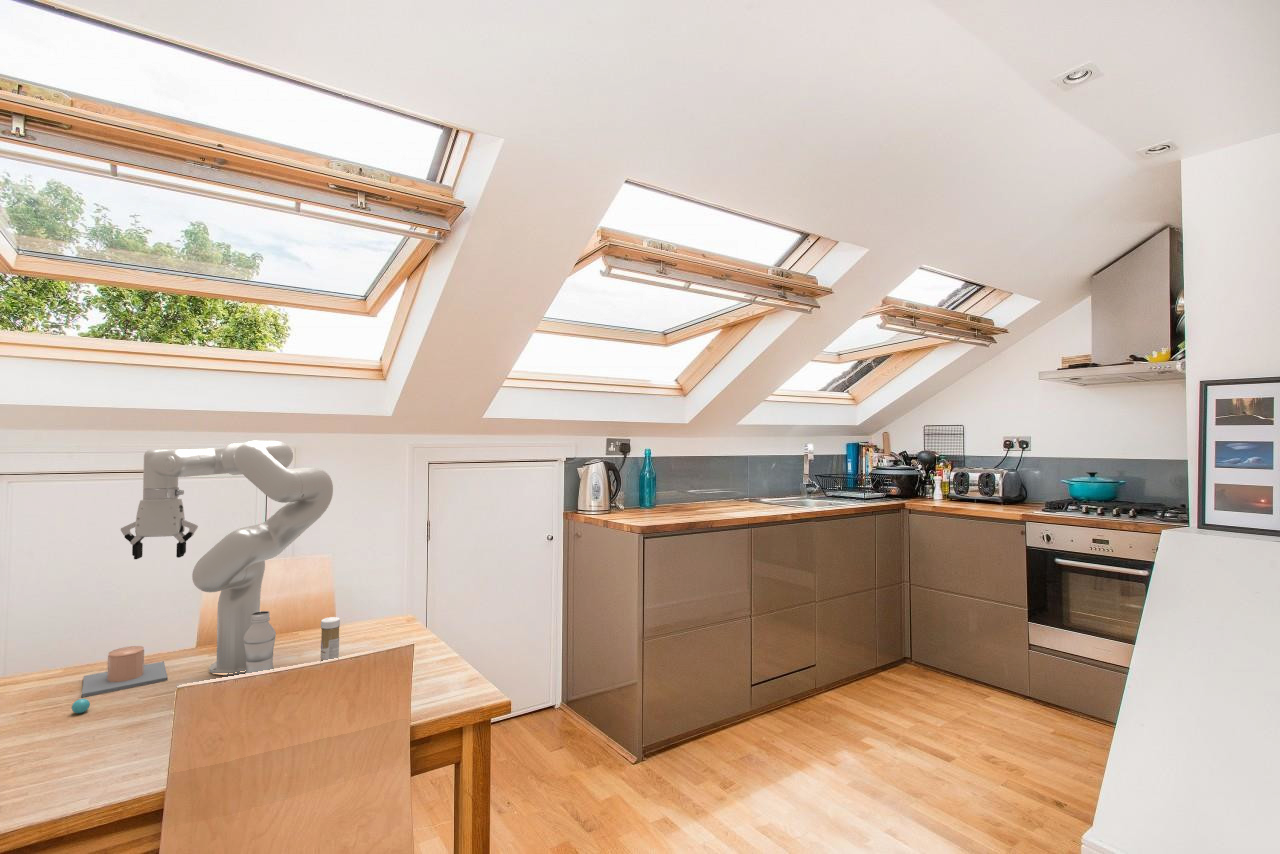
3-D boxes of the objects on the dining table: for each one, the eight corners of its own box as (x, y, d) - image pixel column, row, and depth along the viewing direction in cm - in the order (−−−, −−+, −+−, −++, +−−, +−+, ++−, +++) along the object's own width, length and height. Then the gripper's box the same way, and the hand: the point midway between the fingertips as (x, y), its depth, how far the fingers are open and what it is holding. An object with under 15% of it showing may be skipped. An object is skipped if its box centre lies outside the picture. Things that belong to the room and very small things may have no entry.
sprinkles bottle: (316, 670, 163) (317, 619, 163) (334, 665, 166) (335, 615, 167) (324, 674, 160) (325, 622, 160) (342, 669, 163) (343, 618, 164)
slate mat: (163, 664, 166) (163, 661, 166) (167, 680, 155) (167, 677, 155) (83, 679, 155) (83, 675, 155) (81, 697, 145) (81, 694, 145)
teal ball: (93, 709, 138) (93, 696, 138) (80, 716, 135) (81, 702, 135) (80, 709, 138) (80, 696, 139) (67, 715, 136) (67, 701, 136)
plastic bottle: (281, 694, 148) (283, 610, 148) (256, 706, 141) (257, 618, 141) (261, 690, 150) (263, 608, 150) (235, 701, 143) (237, 615, 144)
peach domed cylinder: (150, 671, 158) (150, 646, 159) (126, 682, 152) (127, 655, 152) (124, 670, 159) (125, 645, 159) (100, 681, 152) (101, 655, 152)
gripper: (202, 492, 174) (201, 553, 174) (129, 493, 169) (127, 556, 169) (192, 495, 167) (191, 558, 167) (115, 496, 162) (113, 562, 161)
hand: (159, 557), depth 168 cm, fingers open, 9 cm apart
